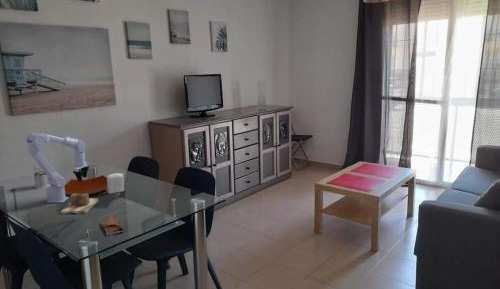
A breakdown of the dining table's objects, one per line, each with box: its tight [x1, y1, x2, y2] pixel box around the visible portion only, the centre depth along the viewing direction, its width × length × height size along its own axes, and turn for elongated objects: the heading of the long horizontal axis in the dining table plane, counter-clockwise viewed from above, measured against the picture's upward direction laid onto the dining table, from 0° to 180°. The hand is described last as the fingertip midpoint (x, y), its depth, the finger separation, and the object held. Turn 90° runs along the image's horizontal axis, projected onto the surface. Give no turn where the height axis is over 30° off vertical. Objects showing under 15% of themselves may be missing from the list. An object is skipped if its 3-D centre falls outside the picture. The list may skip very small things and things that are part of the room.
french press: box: [32, 164, 51, 190], centre depth 253 cm, size 10×12×25 cm
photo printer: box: [106, 172, 125, 194], centre depth 244 cm, size 10×4×12 cm, turn 124°
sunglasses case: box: [99, 214, 124, 232], centre depth 194 cm, size 18×7×7 cm
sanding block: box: [69, 192, 90, 206], centre depth 220 cm, size 9×4×6 cm, turn 91°
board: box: [59, 197, 99, 215], centre depth 221 cm, size 14×19×2 cm
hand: (82, 179), depth 241 cm, fingers open, 7 cm apart
